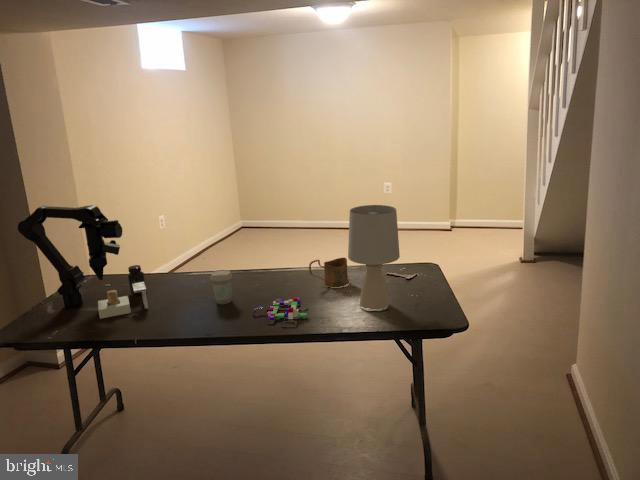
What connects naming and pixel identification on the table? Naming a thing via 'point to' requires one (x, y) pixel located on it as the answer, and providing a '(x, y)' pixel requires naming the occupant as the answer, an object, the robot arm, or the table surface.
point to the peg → (112, 297)
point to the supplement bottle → (135, 278)
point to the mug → (334, 272)
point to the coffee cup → (222, 285)
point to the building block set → (289, 312)
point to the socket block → (114, 307)
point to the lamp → (373, 249)
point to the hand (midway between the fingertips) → (101, 276)
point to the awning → (141, 288)
